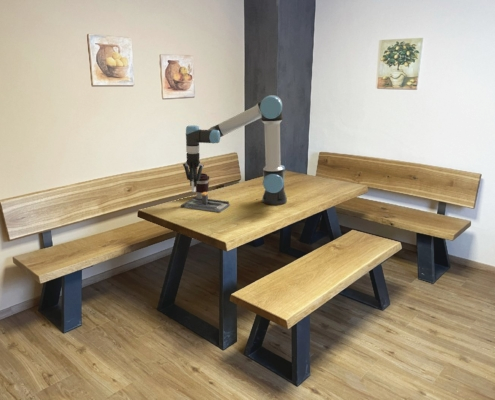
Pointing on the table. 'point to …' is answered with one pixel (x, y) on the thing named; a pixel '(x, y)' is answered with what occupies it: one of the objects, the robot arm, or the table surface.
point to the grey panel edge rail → (186, 203)
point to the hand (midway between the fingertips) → (193, 191)
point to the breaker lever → (205, 198)
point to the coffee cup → (202, 185)
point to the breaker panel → (209, 207)
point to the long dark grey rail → (213, 200)
